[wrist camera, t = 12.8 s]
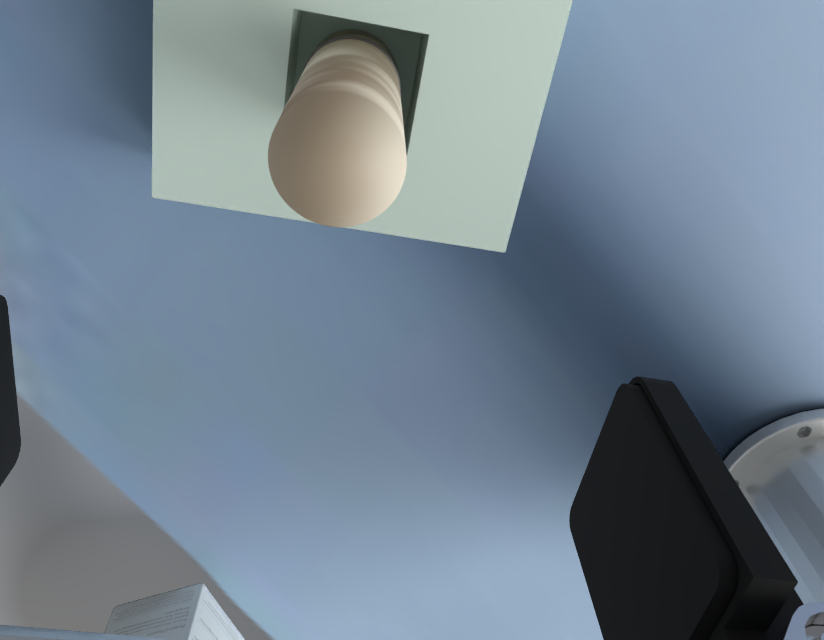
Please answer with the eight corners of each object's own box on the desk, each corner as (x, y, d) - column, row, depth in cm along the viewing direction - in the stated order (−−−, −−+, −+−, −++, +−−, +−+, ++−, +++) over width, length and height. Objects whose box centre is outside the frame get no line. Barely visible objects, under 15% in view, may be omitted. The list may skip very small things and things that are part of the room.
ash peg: (405, 32, 32) (420, 103, 20) (390, 123, 34) (395, 238, 22) (314, 15, 32) (272, 76, 19) (304, 108, 34) (260, 217, 21)
